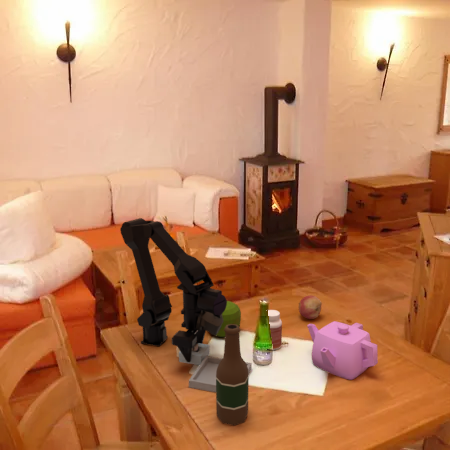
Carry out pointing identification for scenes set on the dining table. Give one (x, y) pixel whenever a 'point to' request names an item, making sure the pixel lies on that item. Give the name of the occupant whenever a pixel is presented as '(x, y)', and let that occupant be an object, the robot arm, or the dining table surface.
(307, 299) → the fruit
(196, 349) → the brown rounded cylinder
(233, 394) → the beer bottle
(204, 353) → the ring
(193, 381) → the tray
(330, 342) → the teakettle
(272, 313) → the pill bottle
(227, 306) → the apple
